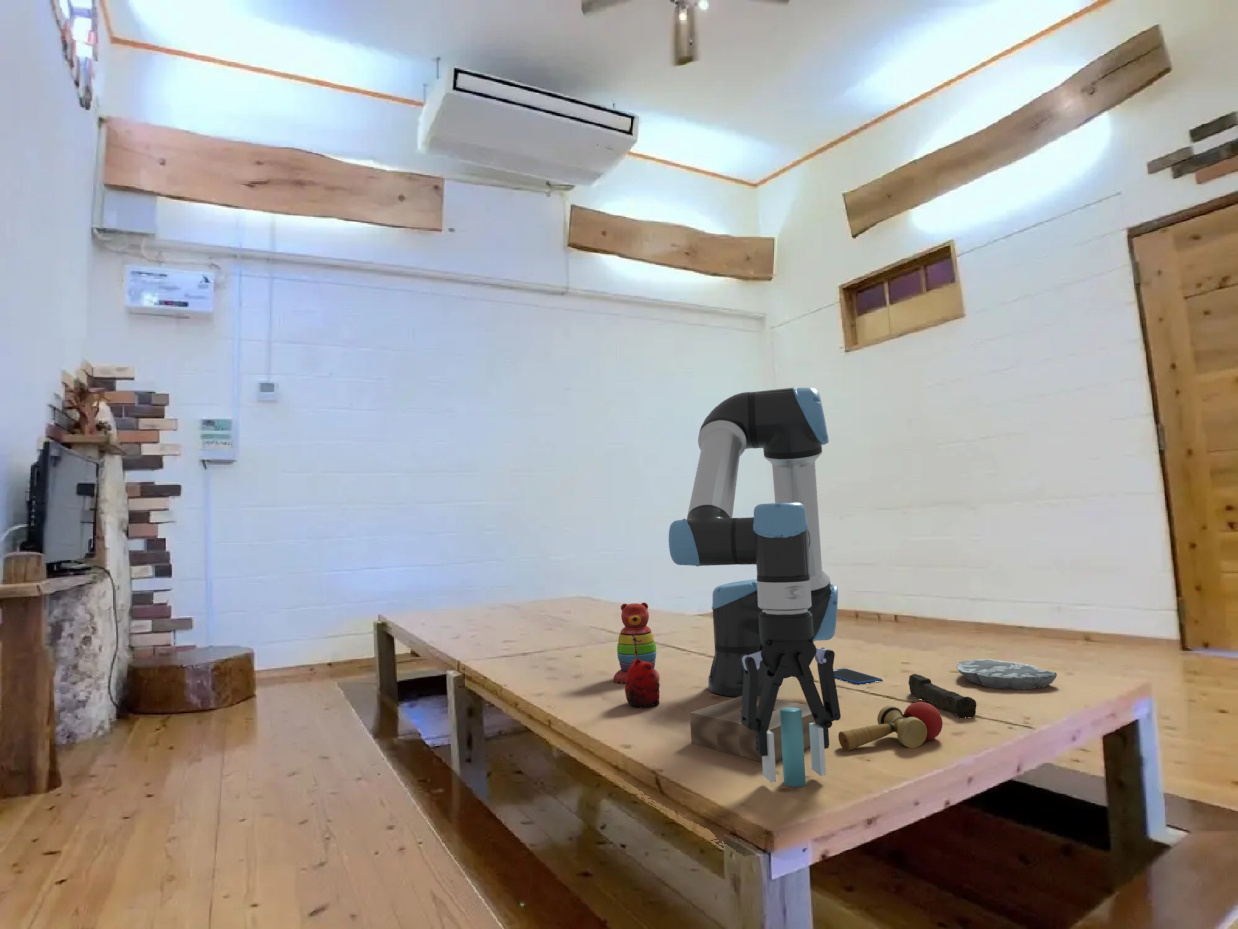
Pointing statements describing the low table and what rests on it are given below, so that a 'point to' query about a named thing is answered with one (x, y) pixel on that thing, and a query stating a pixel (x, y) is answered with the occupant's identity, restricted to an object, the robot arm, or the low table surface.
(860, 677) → the cell phone
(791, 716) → the peg
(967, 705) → the hand tool
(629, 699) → the red clay folk toy
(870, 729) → the kendama
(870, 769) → the low table surface
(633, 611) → the stacking bear
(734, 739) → the hole block
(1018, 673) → the brain slice
